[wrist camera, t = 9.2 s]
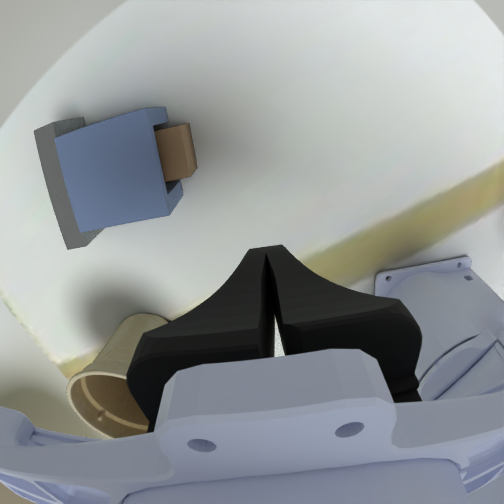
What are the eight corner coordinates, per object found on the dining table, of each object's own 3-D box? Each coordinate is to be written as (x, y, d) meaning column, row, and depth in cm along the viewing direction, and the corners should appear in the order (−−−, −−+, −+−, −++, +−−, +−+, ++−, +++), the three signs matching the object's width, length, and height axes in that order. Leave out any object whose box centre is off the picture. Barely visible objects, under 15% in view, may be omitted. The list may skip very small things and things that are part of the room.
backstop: (83, 117, 18) (52, 122, 15) (109, 223, 22) (86, 246, 18) (65, 123, 18) (33, 130, 15) (92, 226, 22) (67, 249, 18)
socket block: (165, 107, 18) (145, 108, 14) (183, 195, 21) (169, 215, 17) (84, 130, 18) (54, 138, 15) (105, 211, 21) (80, 232, 17)
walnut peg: (189, 123, 19) (180, 125, 16) (198, 167, 20) (190, 177, 18) (107, 143, 19) (87, 150, 17) (116, 184, 21) (99, 196, 18)
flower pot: (165, 278, 24) (132, 357, 16) (225, 359, 27) (219, 440, 20) (84, 316, 25) (43, 385, 18) (145, 383, 29) (125, 453, 21)
